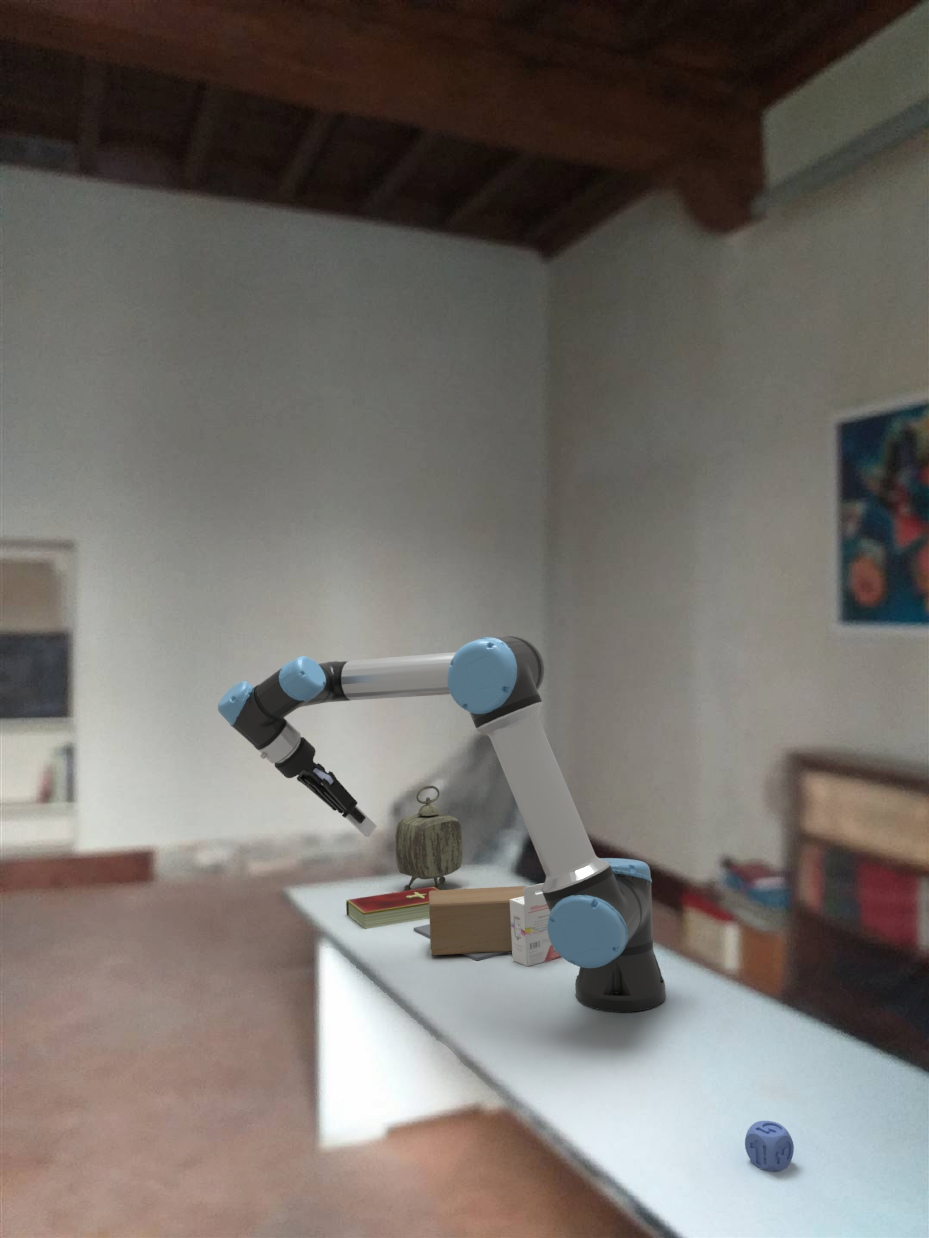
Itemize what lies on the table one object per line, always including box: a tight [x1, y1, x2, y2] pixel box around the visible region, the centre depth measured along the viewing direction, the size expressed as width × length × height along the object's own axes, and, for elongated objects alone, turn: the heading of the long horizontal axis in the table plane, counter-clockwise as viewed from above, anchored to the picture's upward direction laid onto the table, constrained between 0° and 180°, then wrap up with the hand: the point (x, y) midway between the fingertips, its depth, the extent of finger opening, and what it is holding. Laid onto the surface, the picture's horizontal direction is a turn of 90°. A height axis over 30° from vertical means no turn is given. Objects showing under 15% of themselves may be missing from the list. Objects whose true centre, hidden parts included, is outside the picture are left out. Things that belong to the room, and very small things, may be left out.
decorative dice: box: [744, 1120, 795, 1172], centre depth 119 cm, size 4×4×4 cm
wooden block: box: [429, 885, 528, 956], centre depth 200 cm, size 10×10×20 cm
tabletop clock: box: [394, 785, 463, 891], centre depth 245 cm, size 14×9×25 cm, turn 130°
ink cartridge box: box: [510, 882, 562, 967], centre depth 193 cm, size 9×5×15 cm, turn 124°
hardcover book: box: [345, 886, 439, 929], centre depth 225 cm, size 12×21×4 cm, turn 114°
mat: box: [413, 923, 512, 962], centre depth 208 cm, size 24×19×1 cm
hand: (370, 830), depth 197 cm, fingers closed
